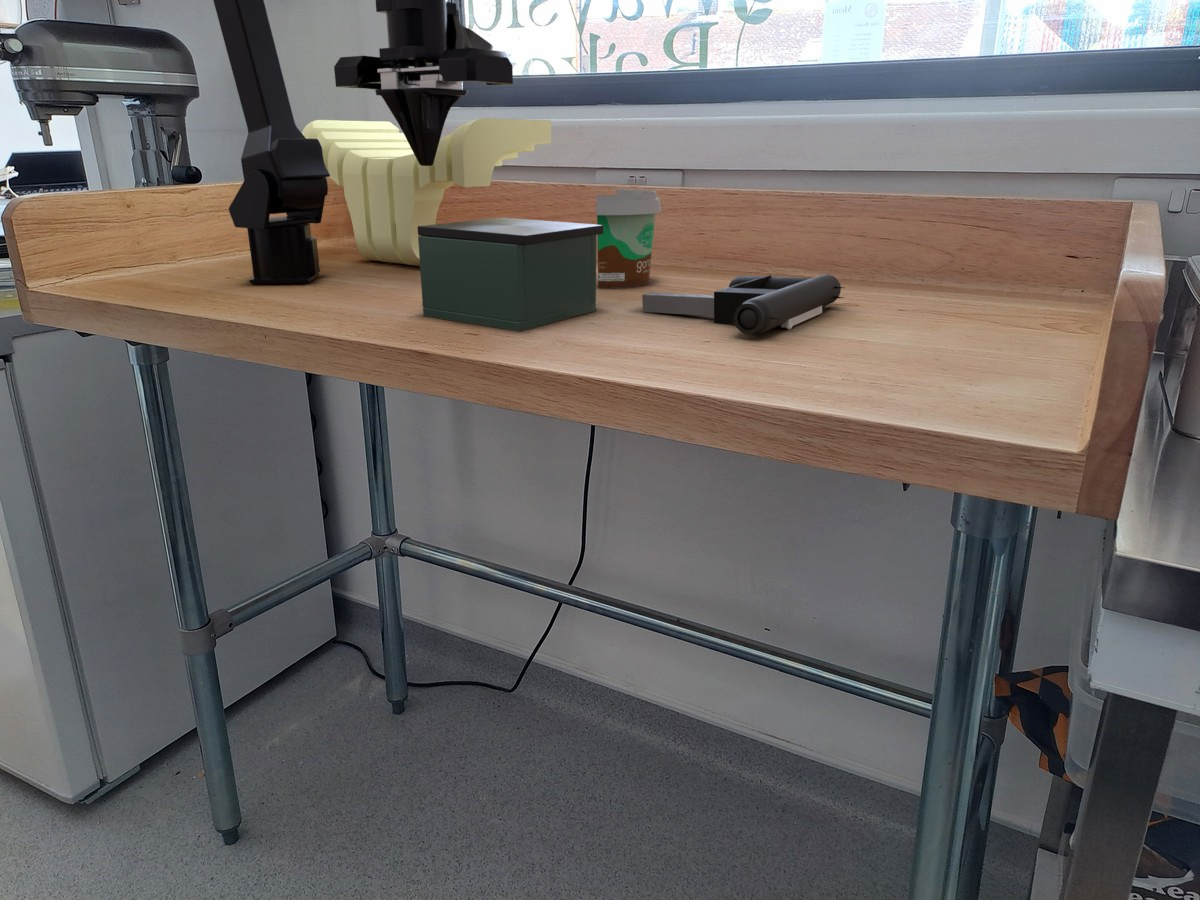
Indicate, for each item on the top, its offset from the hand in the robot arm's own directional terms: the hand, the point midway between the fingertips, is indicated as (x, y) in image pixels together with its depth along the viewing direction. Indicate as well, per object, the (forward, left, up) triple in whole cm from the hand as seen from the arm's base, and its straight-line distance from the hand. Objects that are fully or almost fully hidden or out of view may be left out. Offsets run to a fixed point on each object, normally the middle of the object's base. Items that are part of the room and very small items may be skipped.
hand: (426, 165), depth 85 cm
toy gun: (+29, -12, -13) cm, 34 cm away
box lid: (+8, -10, -6) cm, 14 cm away
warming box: (+8, -10, -13) cm, 18 cm away
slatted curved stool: (-3, +29, -13) cm, 32 cm away
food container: (+22, +8, -13) cm, 27 cm away
